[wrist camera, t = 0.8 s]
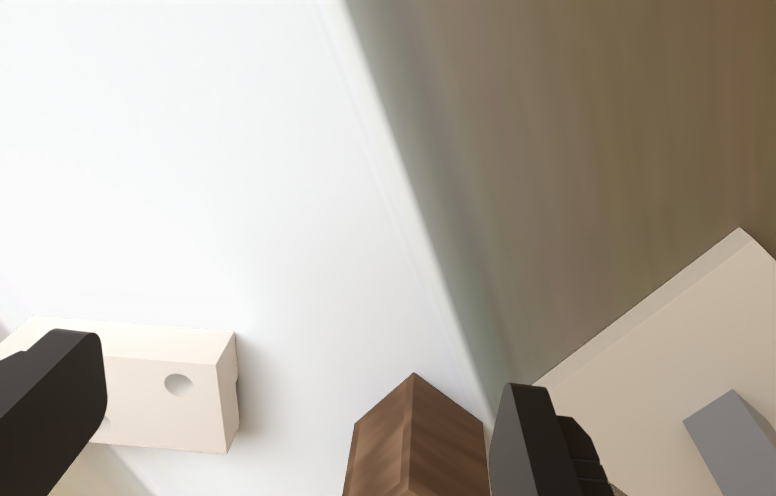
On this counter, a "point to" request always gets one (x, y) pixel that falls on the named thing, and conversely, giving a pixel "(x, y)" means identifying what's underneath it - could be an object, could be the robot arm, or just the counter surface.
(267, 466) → the counter surface
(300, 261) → the counter surface
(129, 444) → the bracket
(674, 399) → the post board
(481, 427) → the brown wooden block
